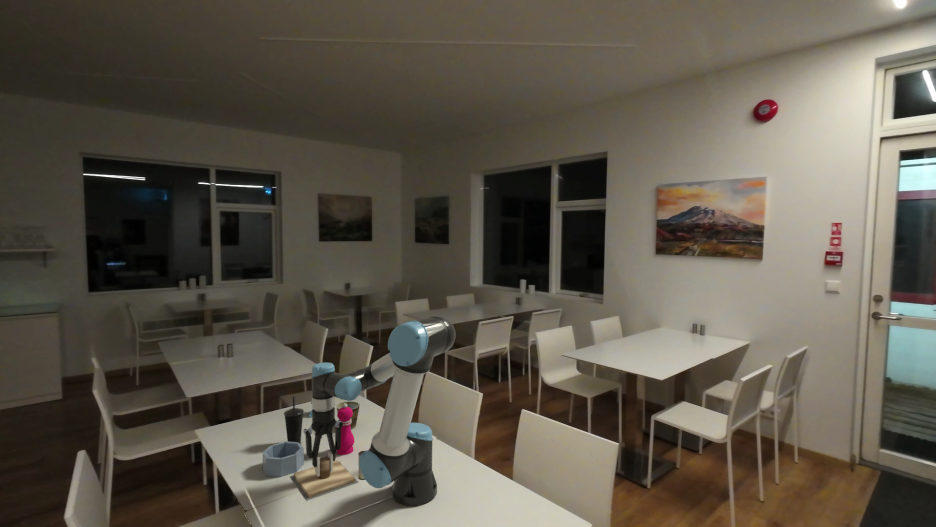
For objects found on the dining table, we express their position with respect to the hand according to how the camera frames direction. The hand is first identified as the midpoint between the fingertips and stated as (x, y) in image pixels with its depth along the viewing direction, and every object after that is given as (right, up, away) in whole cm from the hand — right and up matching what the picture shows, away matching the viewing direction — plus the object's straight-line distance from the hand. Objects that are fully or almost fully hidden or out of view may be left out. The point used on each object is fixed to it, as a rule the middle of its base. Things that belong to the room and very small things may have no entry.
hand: (324, 472), depth 158 cm
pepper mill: (+2, -2, +21) cm, 21 cm away
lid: (0, -3, 0) cm, 3 cm away
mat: (0, -3, 0) cm, 3 cm away
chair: (-21, +1, +58) cm, 61 cm away
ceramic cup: (-3, 0, +43) cm, 43 cm away
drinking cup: (-21, -1, +27) cm, 34 cm away
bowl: (-18, -2, +8) cm, 19 cm away
